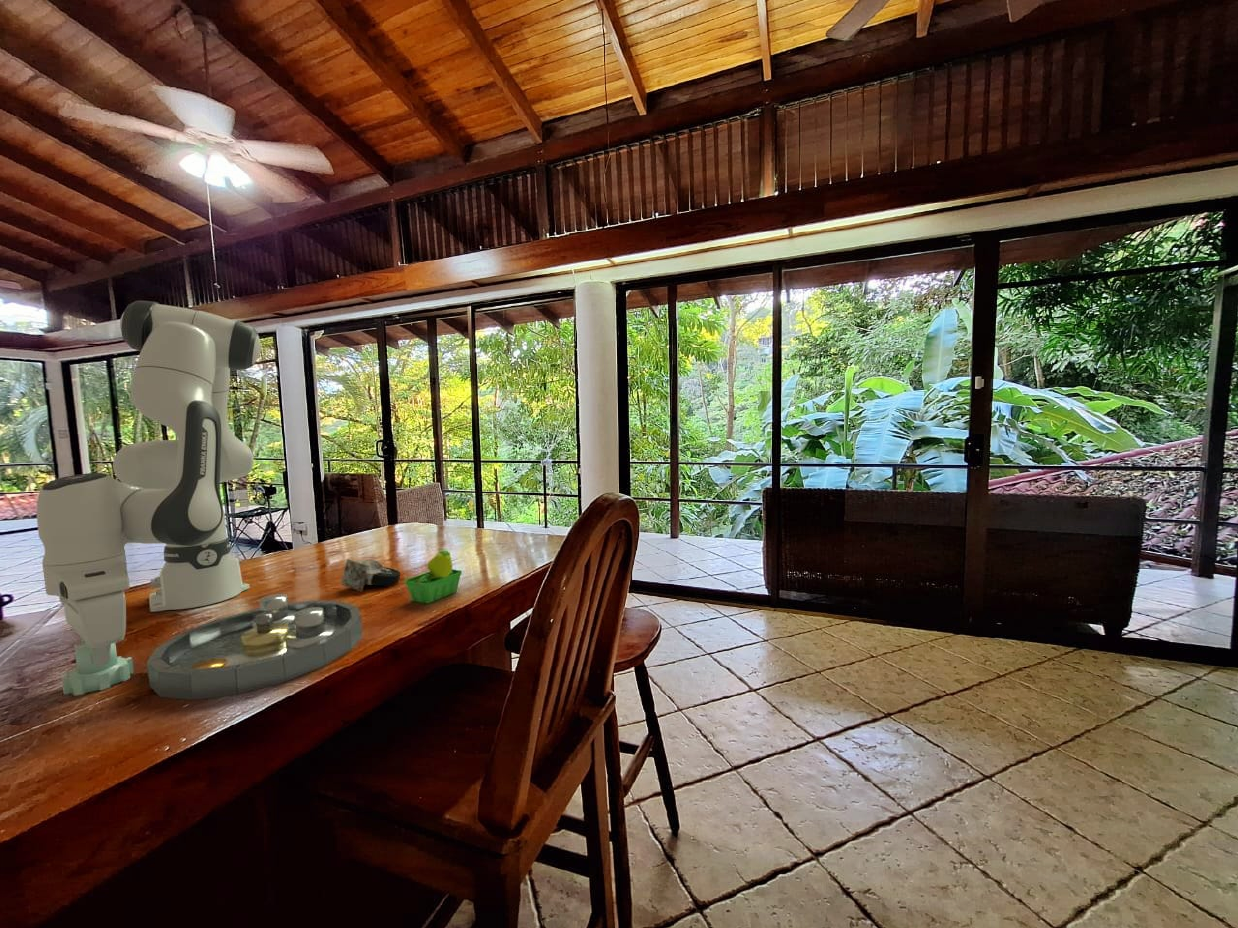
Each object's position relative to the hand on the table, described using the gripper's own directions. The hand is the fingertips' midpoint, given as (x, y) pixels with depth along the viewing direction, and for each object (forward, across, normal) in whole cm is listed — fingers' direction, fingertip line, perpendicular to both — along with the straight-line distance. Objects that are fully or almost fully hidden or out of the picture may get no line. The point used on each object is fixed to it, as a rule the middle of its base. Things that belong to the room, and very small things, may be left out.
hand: (97, 659), depth 77 cm
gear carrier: (+4, +12, +19) cm, 23 cm away
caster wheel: (+4, -8, +50) cm, 51 cm away
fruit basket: (+4, +14, +53) cm, 55 cm away
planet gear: (+4, 0, 0) cm, 4 cm away
